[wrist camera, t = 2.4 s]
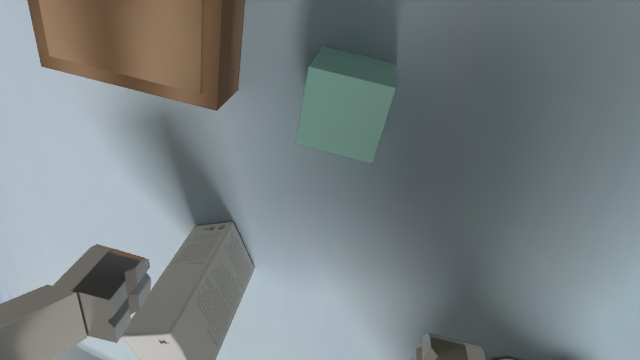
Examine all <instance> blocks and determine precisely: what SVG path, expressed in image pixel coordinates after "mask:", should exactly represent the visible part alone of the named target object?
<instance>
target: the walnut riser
mask: <svg viewBox="0 0 640 360" xmlns="http://www.w3.org/2000/svg"><path fill="white" fill-rule="evenodd" d="M28 5H29V10H30V14H31V19H32V24H33V29H34V33H35V38H36V43H37V48H38V52H39V57H40V62H41V66H42V67H46V68H50V69H54V70H58V71H62V72H66V73H70V74H73V75H77V76H81V77H85V78H89V79H93V80H97V81H101V82H105V83H109V84H113V85H117V86H121V87H125V88H129V89H133V90H137V91H141V92H145V93H149V94H153V95H157V96H161V97H165V98H169V99H173V100H176V101H180V102H184V103H188V104H192V105H196V106H200V107H204V108H208V109H212V110H216V111H217V110H218V109H219V108H220V107H221V106H222V105H223V104H224V103H225V102H226V101H227V100H228V99H229V98H230V97H231V96H232V95H233V94H235V93H236V92H237V91H238V83H239V70H240V57H241V44H242V31H243V18H244V5H245V0H28Z"/></svg>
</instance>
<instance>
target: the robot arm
mask: <svg viewBox="0 0 640 360" xmlns="http://www.w3.org/2000/svg"><path fill="white" fill-rule="evenodd" d="M149 268H150V265H149V259H146V258H143V257H140V256H136V255H133V254H130V253H126V252H123V251H119V250H116V249H113V248H109V247H105V246H102V245H98V244H96V245H94V246H92V247H91V248H89V249H88V251H87V252H86V253H85V254H84V255H83V256H82V257H81V258H80V259H79V260H78V261H77V262H76V263H75V264H74V265H73V266H72V267H71V268H70V269H69V270H68V271H67V272H66V273H65V274H64V275H63V276H62V277H61V278H60V279H59V280H58V281H57V282H56V283H55V284H54V285H53V286H51V285H45V286H43V287H40V288H38V289H36V290H33V291H31V292H28V293H26V294H23V295H21V296H19V297H16V298H14V299H11V300H9V301H7V302H4V303H2V304H0V360H52V359H54V358H55V357H57V356H58V355H60V354H61V353H63V352H65V351H66V350H68V349H70V348H71V347H73V346H74V345H76V344H77V343H79V342H81V341H82V340H84V339H85V338H87V336H91V337H95V338H99V339H103V340H108V341H112V342H116V343H117V342H118V341H119V339H120V338H121V336H122V335H123V333H124V332H125V330H126V329H127V328H128V326H129V325H130V323H131V318H130V314H132V313H134V312H136V311H138V310H140V309H141V307H142V306H143V304H144V303H145V301H146V299H147V296H148V294H149V292H150V287H151V278H150V277H149V275H148V274H147V273H146V272H147V270H148V269H149ZM421 343H422V347H420V348H418V349H416V350H415V352H414V354H413V356H412V360H485V355H484V351H483V349H482V348H481V347H480V346H476V345H472V344H469V343H465V342H461V341H459V340H455V339H451V338H447V337H443V336H439V335H435V334H431V333H426V334H424V336H423V338H422V340H421ZM501 360H514V359H501Z"/></svg>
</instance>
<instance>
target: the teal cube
mask: <svg viewBox="0 0 640 360" xmlns="http://www.w3.org/2000/svg"><path fill="white" fill-rule="evenodd" d="M395 90H396V64H395V63H391V62H387V61H383V60H379V59H374V58H370V57H366V56H362V55H358V54H354V53H350V52H346V51H342V50H338V49H333V48H329V47H325V46H322V48H321V49H320V51H319V52H318V54H317V55H316V57H315V58H314V59H313V61H312V62H311V64H310V65H309V67H308V73H307V78H306V84H305V90H304V95H303V101H302V107H301V112H300V118H299V124H298V129H297V135H296V141H295V144H296V145H300V146H304V147H308V148H312V149H316V150H319V151H323V152H327V153H331V154H335V155H339V156H343V157H347V158H351V159H355V160H359V161H363V162H367V163H371V164H372V163H373V160H374V157H375V154H376V151H377V147H378V144H379V141H380V138H381V135H382V132H383V128H384V125H385V122H386V119H387V116H388V112H389V109H390V106H391V103H392V100H393V96H394V93H395Z"/></svg>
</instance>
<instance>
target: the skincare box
mask: <svg viewBox="0 0 640 360" xmlns="http://www.w3.org/2000/svg"><path fill="white" fill-rule="evenodd" d="M254 268H255V267H254V265H253V263H252V261H251V259H250V257H249V255H248V253H247V250H246V248H245V246H244V244H243V242H242V240H241V238H240V236H239V233H238V231H237V229H236V227H235V225H234V223H233V222H226V223H218V224H210V225H200V226H195V227H194V228H193V230H192V231H191V233H190V234H189V236H188V237H187V238H186V240H185V241H184V243H183V244H182V246H181V247H180V249H179V250H178V252H177V253H176V255H175V256H174V258H173V259H172V260H171V262H170V263H169V265H168V266H167V268H166V269H165V271H164V272H163V274H162V275H161V276H160V278H159V279H158V281H157V282H156V284H155V285H154V287H153V288H152V290H151V291H150V293H149V294H148V296H147V299H146V301H145V303H144V304H143V306H142V307H141V309H140V310H138V311H137V312H136V313H135V315H134V316H133V317H132V319H131V323H130V325H129V326H128V328H127V329H126V330H125V332H124V333H123V335H122V336H121V338H122V339H123V340H124V342H125V343H126V344H127V345H128V346H129V348H130V349H131V350H132V351H133V352H134V354H135V355H136V356H137V357H138V359H139V360H216V357H217V355H218V353H219V350H220V348H221V346H222V343H223V341H224V339H225V336H226V334H227V332H228V329H229V327H230V325H231V322H232V320H233V318H234V315H235V313H236V311H237V308H238V306H239V304H240V301H241V299H242V297H243V294H244V292H245V290H246V287H247V285H248V283H249V280H250V278H251V276H252V273H253V271H254Z"/></svg>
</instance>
